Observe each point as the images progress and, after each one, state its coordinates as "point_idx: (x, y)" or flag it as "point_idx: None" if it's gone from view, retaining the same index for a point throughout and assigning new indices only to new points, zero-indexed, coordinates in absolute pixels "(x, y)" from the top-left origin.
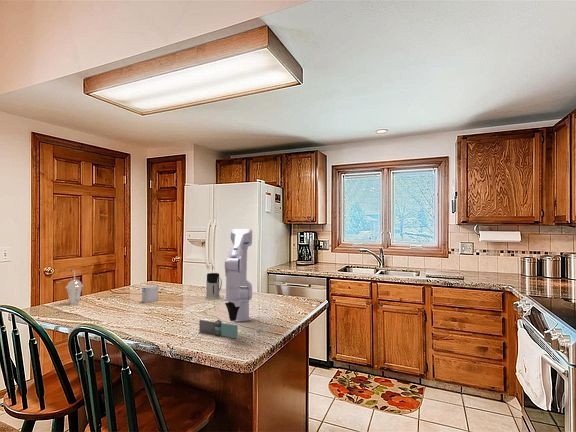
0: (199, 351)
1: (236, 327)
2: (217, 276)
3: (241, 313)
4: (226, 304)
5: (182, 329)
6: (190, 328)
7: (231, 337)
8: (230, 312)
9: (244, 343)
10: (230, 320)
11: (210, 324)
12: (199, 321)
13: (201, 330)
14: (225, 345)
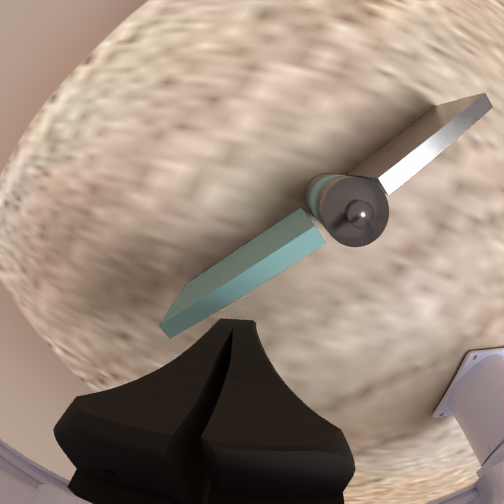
0: (101, 47)
1: (163, 320)
2: None
3: (473, 404)
4: (159, 440)
5: (493, 57)
6: (499, 96)
7: (218, 262)
8: (166, 371)
9: (115, 298)
10: (230, 320)
11: (404, 149)
12: (478, 94)
13: (432, 112)
14: (116, 191)
